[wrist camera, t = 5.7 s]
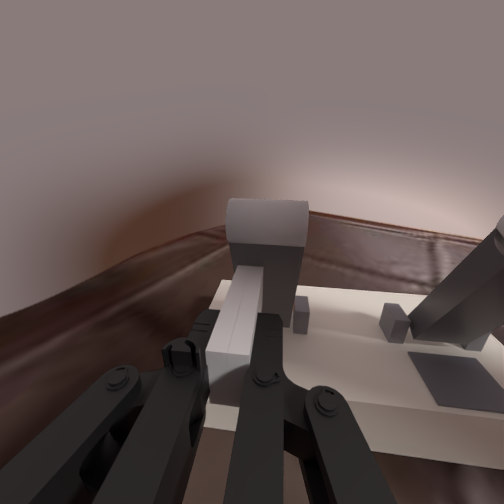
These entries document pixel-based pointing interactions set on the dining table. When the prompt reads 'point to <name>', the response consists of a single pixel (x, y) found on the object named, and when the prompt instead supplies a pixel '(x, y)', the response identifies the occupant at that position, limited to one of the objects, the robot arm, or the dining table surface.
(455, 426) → the console
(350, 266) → the dining table surface
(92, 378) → the dining table surface
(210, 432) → the dining table surface
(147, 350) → the dining table surface
